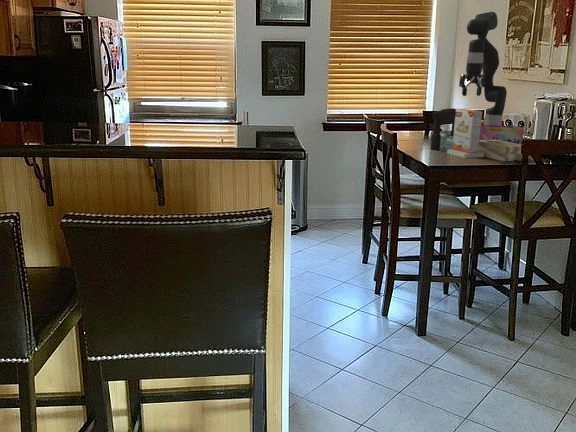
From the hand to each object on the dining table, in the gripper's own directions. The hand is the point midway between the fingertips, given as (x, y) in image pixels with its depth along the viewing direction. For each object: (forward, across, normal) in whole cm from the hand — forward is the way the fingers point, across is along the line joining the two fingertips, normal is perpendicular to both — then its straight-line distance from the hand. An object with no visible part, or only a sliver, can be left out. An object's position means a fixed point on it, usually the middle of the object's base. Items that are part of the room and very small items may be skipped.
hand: (471, 95), depth 285 cm
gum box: (+30, -25, -6) cm, 40 cm away
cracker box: (+28, 0, -1) cm, 28 cm away
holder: (+30, -14, +9) cm, 34 cm away
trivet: (+30, 0, 0) cm, 30 cm away
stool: (+30, -5, -24) cm, 39 cm away
